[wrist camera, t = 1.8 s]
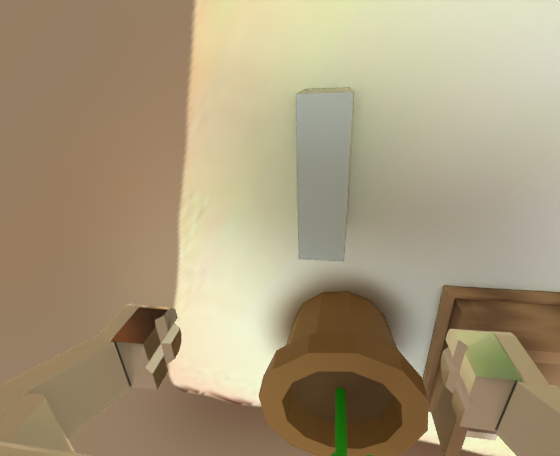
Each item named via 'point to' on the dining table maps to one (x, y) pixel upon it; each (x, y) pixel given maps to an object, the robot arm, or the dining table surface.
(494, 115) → the dining table surface
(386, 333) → the flowerpot
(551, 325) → the wooden box
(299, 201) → the grey box with stripe
